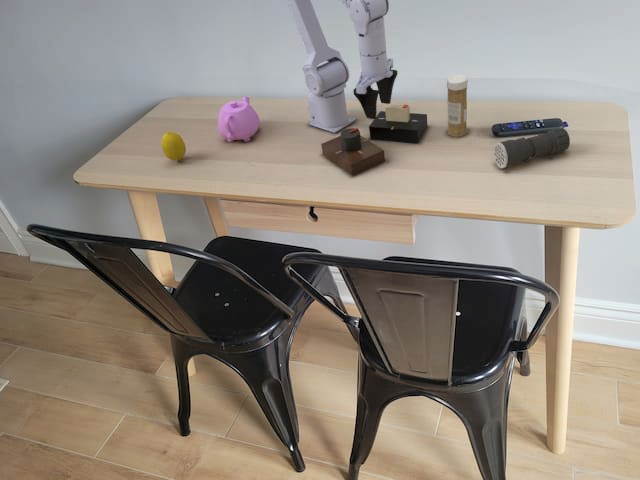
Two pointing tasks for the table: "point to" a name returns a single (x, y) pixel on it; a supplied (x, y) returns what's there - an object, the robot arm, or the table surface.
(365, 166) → the walnut console
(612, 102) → the table surface
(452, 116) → the sprinkles bottle
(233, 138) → the teapot
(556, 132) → the flashlight
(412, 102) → the table surface
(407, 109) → the bar knob
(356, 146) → the round dial
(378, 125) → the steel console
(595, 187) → the table surface
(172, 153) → the lemon
